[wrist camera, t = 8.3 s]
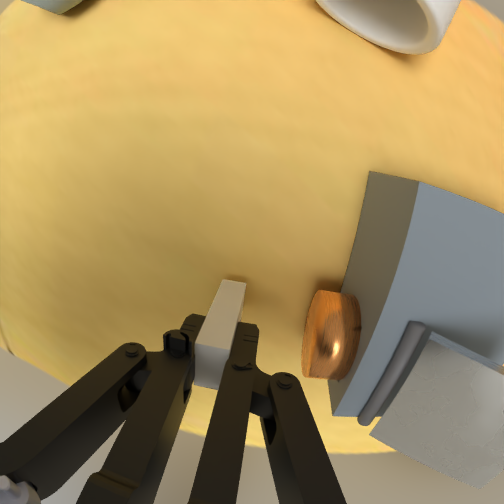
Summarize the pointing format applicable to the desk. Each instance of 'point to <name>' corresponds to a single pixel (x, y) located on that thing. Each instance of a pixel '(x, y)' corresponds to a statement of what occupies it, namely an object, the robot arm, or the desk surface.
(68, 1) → the air freshener
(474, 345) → the grey box with lid
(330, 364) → the pin
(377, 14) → the mug
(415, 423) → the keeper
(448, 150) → the desk surface
